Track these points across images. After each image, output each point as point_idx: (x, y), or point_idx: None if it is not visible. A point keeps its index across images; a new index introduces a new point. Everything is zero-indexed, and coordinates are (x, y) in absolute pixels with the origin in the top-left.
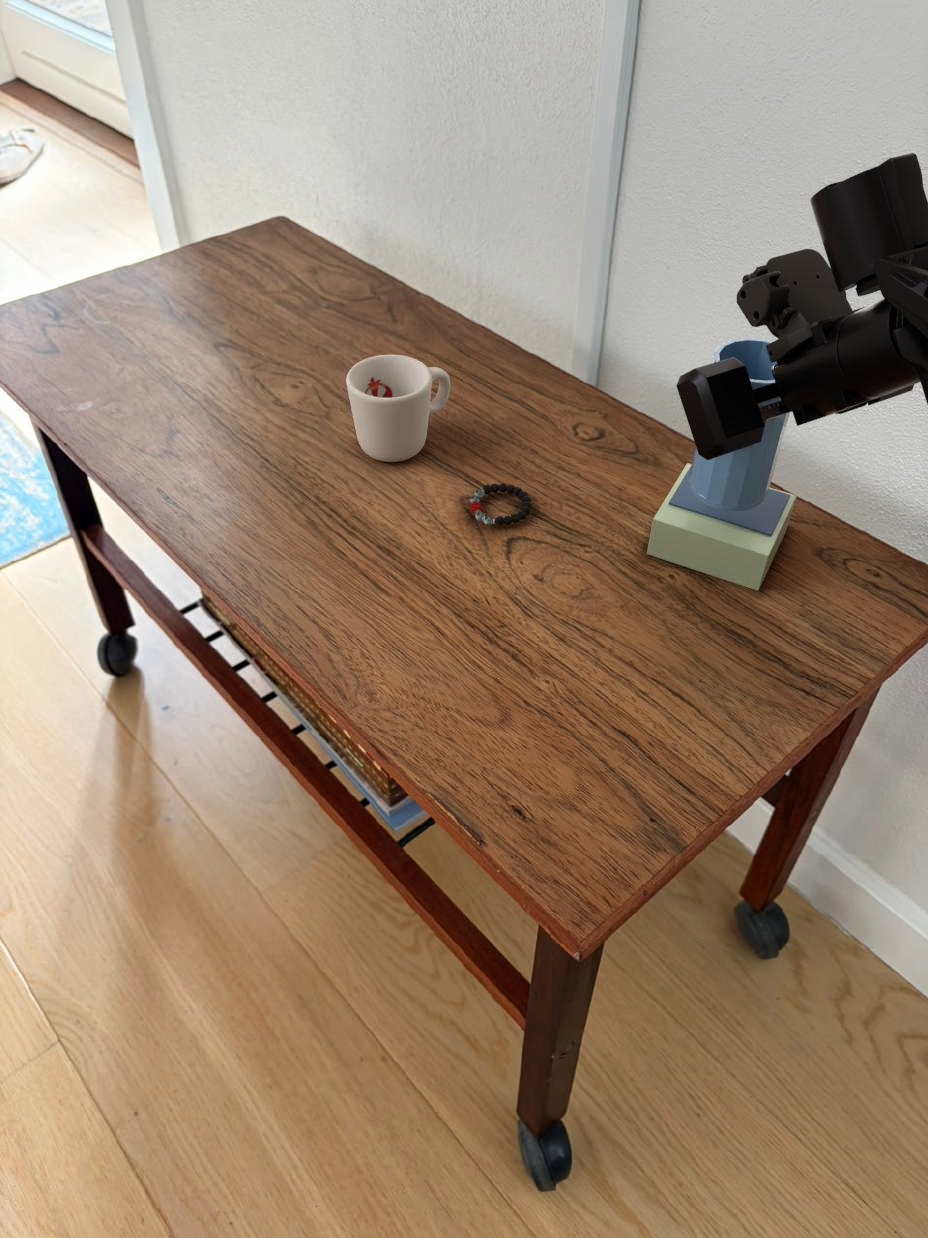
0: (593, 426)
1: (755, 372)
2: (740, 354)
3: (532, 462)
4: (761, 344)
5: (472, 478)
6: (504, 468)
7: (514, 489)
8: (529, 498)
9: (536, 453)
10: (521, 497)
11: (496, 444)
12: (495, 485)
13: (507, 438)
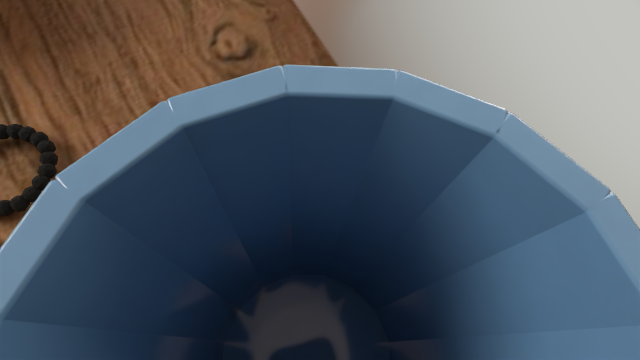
0: (245, 33)
1: (416, 214)
2: (338, 149)
3: (119, 84)
4: (474, 144)
5: (11, 96)
6: (71, 87)
7: (38, 144)
8: (49, 170)
9: (135, 67)
10: (42, 163)
11: (88, 37)
12: (11, 130)
13: (110, 29)
